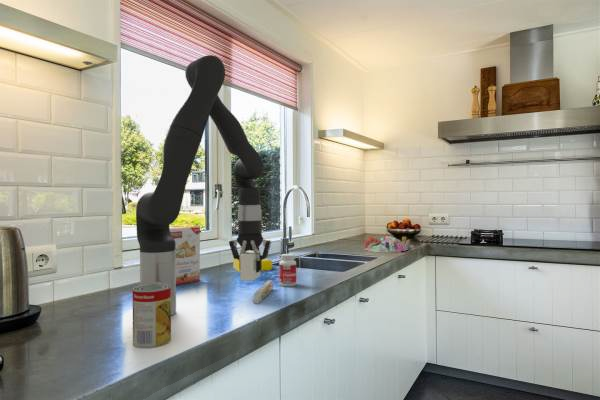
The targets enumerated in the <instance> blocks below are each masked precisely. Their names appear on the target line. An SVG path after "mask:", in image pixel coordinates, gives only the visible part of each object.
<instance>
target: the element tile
mask: <svg viewBox="0 0 600 400" xmlns="http://www.w3.org/2000/svg"><path fill="white" fill-rule="evenodd" d="M232 260H233V262H232V263H233V265H232V266H233V269H235V270H236V271H237V272H238V273H240V262H239V260H238V259H234V258H233V259H232ZM272 269H273V261H272V260H271V259H269V258H267V257H266V258H265V259H262V269H261V270H260V272H262V271H263V272H264V271H273V270H272Z"/></svg>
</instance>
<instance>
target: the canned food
mask: <svg viewBox="0 0 600 400" xmlns="http://www.w3.org/2000/svg"><path fill="white" fill-rule="evenodd" d="M171 341H172V315H171V286H170V285H169V284H159V283H157V284H145V285H136V286H133V288H132V345H133V346H134V347H136V348H139V349H152V348H158V347H162V346H165V345H167V344H170V342H171Z"/></svg>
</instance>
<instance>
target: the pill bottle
mask: <svg viewBox="0 0 600 400" xmlns="http://www.w3.org/2000/svg"><path fill="white" fill-rule="evenodd" d="M280 258H281V260H280V261H279V263H278V264H279V265H278V267H279V269H278V270H279V271H278V274H279V277H278V282H279V286H281V287H295V286H296V285H297V261H296V260H295V254H293V253H283V254H281V255H280Z"/></svg>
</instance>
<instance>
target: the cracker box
mask: <svg viewBox="0 0 600 400" xmlns="http://www.w3.org/2000/svg"><path fill="white" fill-rule="evenodd" d="M169 228H170V233H171V236H172V237H173V239H174V240H175V245H176V249H175V250H176V285H180V284H181V285H182V284H188V283H193V282H197V281H200V278H201V276H200V274H201V273H200V267H201V265H200V264H201V262H200V260H201V227H200V226H190V225H189V226H174V227H169Z"/></svg>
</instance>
